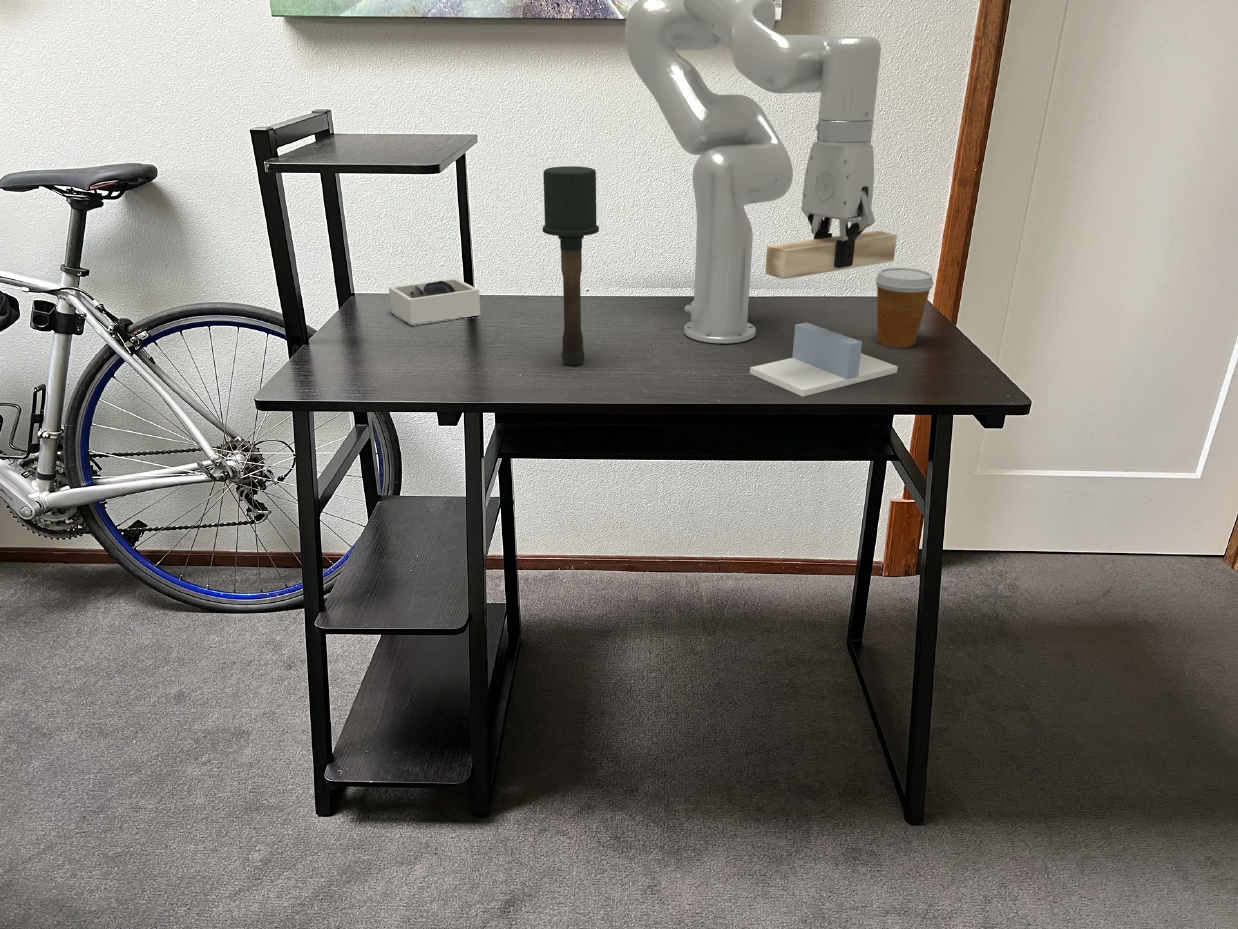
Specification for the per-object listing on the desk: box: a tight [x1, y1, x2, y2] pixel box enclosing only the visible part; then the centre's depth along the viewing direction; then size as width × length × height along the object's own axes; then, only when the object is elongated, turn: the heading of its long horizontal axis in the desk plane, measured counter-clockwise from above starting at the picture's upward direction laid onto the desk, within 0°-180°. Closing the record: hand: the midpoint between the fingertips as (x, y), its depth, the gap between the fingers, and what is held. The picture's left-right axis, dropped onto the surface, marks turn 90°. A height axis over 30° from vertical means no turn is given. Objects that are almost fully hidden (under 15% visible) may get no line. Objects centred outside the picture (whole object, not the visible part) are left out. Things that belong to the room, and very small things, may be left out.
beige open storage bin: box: [388, 277, 482, 324], centre depth 171 cm, size 11×14×5 cm
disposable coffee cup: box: [874, 267, 935, 349], centre depth 155 cm, size 10×10×12 cm
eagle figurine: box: [407, 280, 455, 298], centre depth 171 cm, size 8×7×9 cm
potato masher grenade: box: [542, 165, 600, 366], centre depth 140 cm, size 8×9×30 cm
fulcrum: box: [749, 322, 899, 397], centre depth 142 cm, size 12×20×6 cm, turn 123°
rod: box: [765, 230, 898, 280], centre depth 135 cm, size 4×22×4 cm, turn 122°
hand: (831, 262), depth 135 cm, fingers closed on rod, 4 cm apart
